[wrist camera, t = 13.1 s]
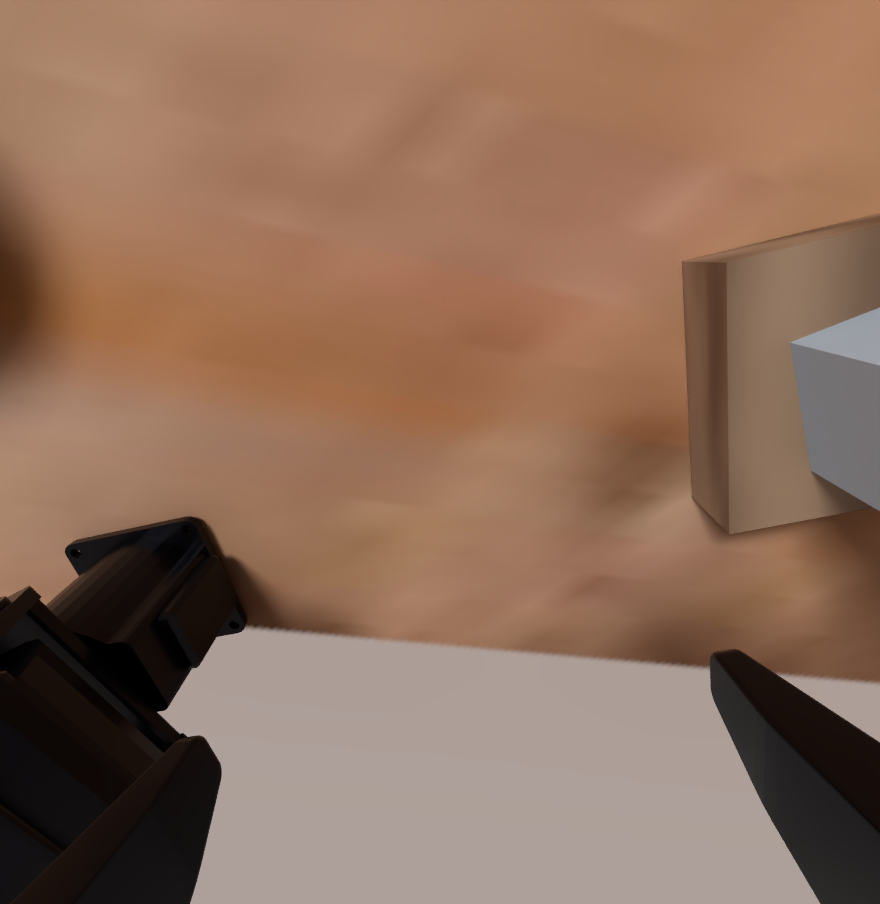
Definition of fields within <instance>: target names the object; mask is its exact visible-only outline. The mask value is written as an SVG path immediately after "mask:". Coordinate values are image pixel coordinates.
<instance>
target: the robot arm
mask: <svg viewBox="0 0 880 904" xmlns="http://www.w3.org/2000/svg"><path fill="white" fill-rule="evenodd" d="M186 526H188V527H190V528H191V529H192V531H190V530H188V529H187V528H186ZM78 550H79V551H80V552H81V553H80V552H79V551H78ZM65 553H66V556H67V558H68V559H69V561H70V562H71V564H72V565H73V567H74V569H75V570H76V572H77V573H78V575H79V577H78V578H77V579H76V580H74V581H73V582H72V583H71V584H70V585H69V586H68V587H66V588H65V589H64V590H63V591H62V592H61V593H60V594H58V595H57V596H56V597H55V598H54V599H53V600H52V601H50V602H49V603H48V604H47V605H46V606H45V605H44V604H43V603H42V602H41V601H40V600H39V599H40V598H41V596H40V595H39V594H38V593H37V592H36V591H35V590H34V589H33V588H31V587H30V586H28V587H26V588H24V589H22V590H20V591H19V592H17V593H15V594H13V595H11V596H9V597H6V596H5V597H2V598H1V597H0V904H190V902H191V898H192V895H193V892H194V889H195V885H196V882H197V878H198V874H199V870H200V867H201V863H202V859H203V854H204V850H205V846H206V842H207V837H208V833H209V829H210V824H211V820H212V816H213V812H214V807H215V803H216V799H217V794H218V790H219V786H220V781H221V765H220V762H219V761H218V759H217V757H216V755H215V754H214V752H213V751H212V749H211V747H210V745H209V744H208V742H207V740H206V739H205V738H204V737H202V736H192V737H187V736H186V735H185V734H183V733H182V734H179V733H178V732H177V731H176V730H175V729H174V728H173V727H172V726H171V725H170V724H169V723H168V722H167V721H166V720H165V719H164V718H163V717H162V716H161V715H159V714H158V713H157V712H158V711H164V710H166V709H167V708H168V706H169V705H170V703H171V701H172V700H173V698H174V696H175V695H176V693H177V692H178V690H179V689H180V687H181V685H182V684H183V682H184V680H185V679H186V677H187V676H188V674H189V672H190V670H191V669H192V668H197V667H198V666H199V665H200V663H201V662H202V660H203V658H204V657H205V655H206V653H207V652H208V650H209V648H210V647H211V645H212V643H213V642H214V640H215V638H216V637H218V636H224V635H229V634H235V633H239V632H242V630H244V628H245V626H246V624H247V621H248V620H247V617H246V615H245V613H244V611H243V609H242V607H241V605H240V602H239V600H238V596H237V594H236V592H235V590H234V588H233V586H232V584H231V582H230V580H229V578H228V576H227V574H226V572H225V570H224V568H223V566H222V564H221V562H220V559H219V558H218V557H217V555H216V553H215V551H214V549H213V547H212V545H211V543H210V541H209V539H208V537H207V535H206V533H205V531H204V529H203V527H202V525H201V523H200V522H199V520H197V519H196V518H194V517H182V518H178V519H173V520H168V521H163V522H159V523H154V524H149V525H145V526H140V527H135V528H130V529H126V530H121V531H116V532H112V533H107V534H102V535H97V536H93V537H88V538H83V539H79V540H75V541H73V542H72V543H71V544H69V545H68V546H67V547H66V549H65ZM234 621H236V622H238V623H235V622H234ZM710 678H711V692H712V696H713V699H714V702H715V704H716V706H717V708H718V710H719V713H720V715H721V717H722V719H723V721H724V723H725V725H726V727H727V730H728V732H729V734H730V736H731V738H732V740H733V742H734V745H735V747H736V749H737V751H738V753H739V755H740V757H741V760H742V762H743V764H744V766H745V768H746V770H747V772H748V774H749V777H750V779H751V781H752V783H753V785H754V787H755V789H756V791H757V793H758V795H759V797H760V799H761V801H762V804H763V805H764V807H765V809H766V811H767V813H768V815H769V816H770V818H771V820H772V822H773V823H774V825H775V827H776V829H777V830H778V832H779V834H780V835H781V837H782V839H783V840H784V842H785V844H786V846H787V847H788V849H789V851H790V852H791V854H792V856H793V858H794V859H795V861H796V863H797V864H798V866H799V868H800V869H801V871H802V873H803V875H804V876H805V878H806V880H807V881H808V883H809V885H810V887H811V888H812V890H813V891H814V893H815V895H816V897H817V899H818V900H819V902H820V904H880V742H878V741H877V740H875V739H874V738H872V737H871V736H869V735H868V734H866V733H865V732H863V731H861V730H860V729H859V728H857V727H856V726H854V725H853V724H851V723H849V722H848V721H846V720H845V719H843V718H842V717H840V716H839V715H837V714H836V713H834V712H833V711H831V710H829V709H828V708H827V707H825V706H824V705H822V704H821V703H819V702H818V701H816V700H815V699H813V698H812V697H810V696H809V695H807V694H805V693H804V692H802V691H801V690H799V689H798V688H796V687H795V686H793V685H792V684H790V683H789V682H787V681H786V680H784V679H783V678H781V677H780V676H778V675H777V674H775V673H774V672H772V671H771V670H769V669H768V668H766V667H765V666H763V665H761V664H760V663H758V662H757V661H755V660H754V659H752V658H751V657H749V656H748V655H746V654H745V653H743V652H742V651H739V650H736V649H730V650H724V651H718V652H714V653H712V654H711V656H710Z"/></svg>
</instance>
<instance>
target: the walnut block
mask: <svg viewBox="0 0 880 904" xmlns="http://www.w3.org/2000/svg"><path fill="white" fill-rule="evenodd" d="M682 267H683V291H684V315H685V338H686V362H687V385H688V409H689V432H690V456H691V479H692V498H693V499H694V500H695V501H696V502H697V503H698V504H699V505H700V506H701V507H702V508H703V509H704V510H705V511H706V512H707V513H708V514H709V515H710V516H711V517H712V518H713V519H714V520H715V521H716V522H717V523H718V524H719V525H720V526H721V527H722V528H723V529H724V530H725V531H726V532H727V533H728V534H734V533H740V532H745V531H751V530H756V529H761V528H767V527H772V526H777V525H783V524H788V523H794V522H799V521H804V520H810V519H815V518H821V517H826V516H831V515H837V514H842V513H847V512H853V511H858V510H864V509H869V508H873V507H872V506H870V505H868V504H867V503H865V502H863V501H861V500H860V499H858V498H856V497H855V496H853V495H851V494H850V493H848V492H846V491H845V490H843V489H841V488H839V487H838V486H836V485H834V484H833V483H831V482H829V481H828V480H826V479H824V478H823V477H821V476H819V475H817V474H816V473H814V472H812V471H811V470H810V464H809V458H808V452H807V446H806V439H805V433H804V427H803V421H802V415H801V409H800V402H799V396H798V390H797V384H796V378H795V371H794V365H793V359H792V353H791V347H790V342H793V341H795V340H798V339H800V338H803V337H805V336H808V335H810V334H813V333H816V332H818V331H821V330H823V329H826V328H828V327H831V326H834V325H836V324H839V323H841V322H844V321H846V320H849V319H851V318H854V317H857V316H859V315H862V314H864V313H867V312H869V311H872V310H875V309H877V308H880V214H876V215H872V216H868V217H864V218H860V219H856V220H852V221H847V222H843V223H839V224H835V225H831V226H827V227H823V228H818V229H814V230H810V231H806V232H802V233H798V234H794V235H790V236H785V237H781V238H777V239H773V240H769V241H765V242H761V243H756V244H752V245H748V246H744V247H740V248H736V249H732V250H728V251H723V252H719V253H715V254H711V255H707V256H703V257H699V258H694V259H690V260H686V261H682Z"/></svg>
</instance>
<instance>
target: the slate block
mask: <svg viewBox="0 0 880 904" xmlns="http://www.w3.org/2000/svg"><path fill="white" fill-rule="evenodd" d="M790 347H791V353H792V359H793V365H794V371H795V378H796V384H797V390H798V396H799V402H800V409H801V415H802V421H803V427H804V433H805V439H806V446H807V452H808V458H809V464H810V470H811V471H812V472H814V473H816V474H817V475H819V476H821V477H823V478H824V479H826V480H828V481H829V482H831V483H833V484H834V485H836V486H838V487H839V488H841V489H843V490H845V491H846V492H848V493H850V494H851V495H853V496H855V497H856V498H858V499H860V500H861V501H863V502H865V503H867V504H868V505H870V506H872V507H873V508H875V509H877V510H878V511H880V308H877V309H875V310H872V311H869V312H867V313H864V314H862V315H859V316H857V317H854V318H851V319H849V320H846V321H844V322H841V323H839V324H836V325H834V326H831V327H828V328H826V329H823V330H821V331H818V332H816V333H813V334H810V335H808V336H805V337H803V338H800V339H798V340H795V341H793V342H790Z"/></svg>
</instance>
